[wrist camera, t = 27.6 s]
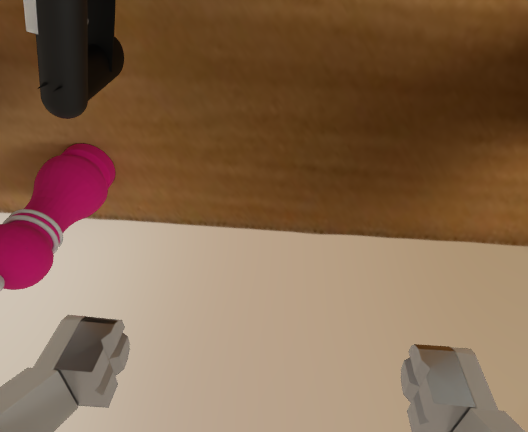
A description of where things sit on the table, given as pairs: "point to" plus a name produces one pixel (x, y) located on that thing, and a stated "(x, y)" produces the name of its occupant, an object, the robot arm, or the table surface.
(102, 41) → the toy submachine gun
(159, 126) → the table surface
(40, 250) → the pepper mill
